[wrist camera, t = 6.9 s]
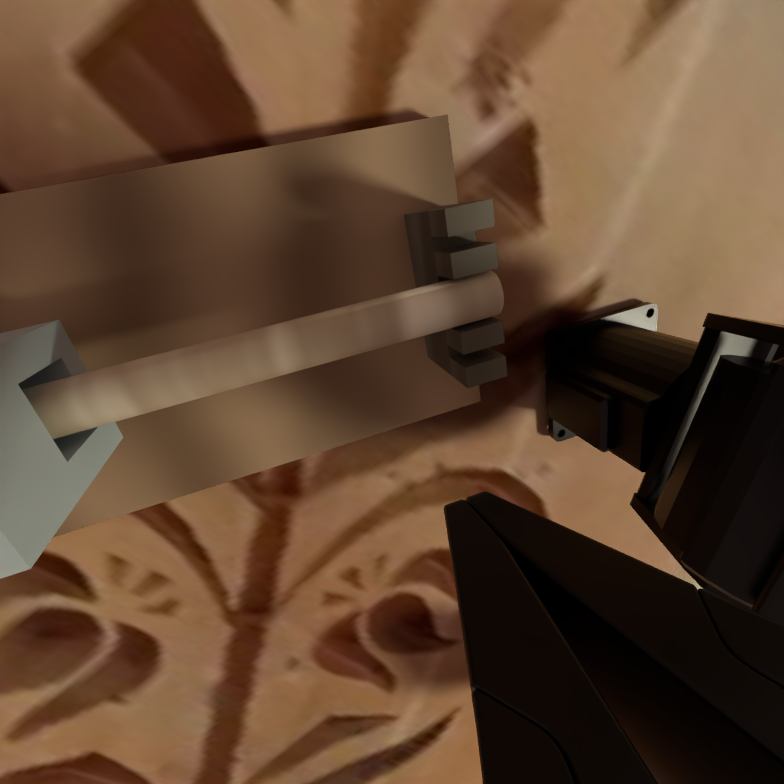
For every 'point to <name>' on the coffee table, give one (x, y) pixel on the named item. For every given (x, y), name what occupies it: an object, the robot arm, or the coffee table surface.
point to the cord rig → (254, 305)
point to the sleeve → (40, 446)
